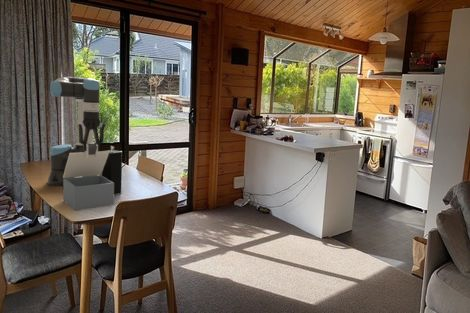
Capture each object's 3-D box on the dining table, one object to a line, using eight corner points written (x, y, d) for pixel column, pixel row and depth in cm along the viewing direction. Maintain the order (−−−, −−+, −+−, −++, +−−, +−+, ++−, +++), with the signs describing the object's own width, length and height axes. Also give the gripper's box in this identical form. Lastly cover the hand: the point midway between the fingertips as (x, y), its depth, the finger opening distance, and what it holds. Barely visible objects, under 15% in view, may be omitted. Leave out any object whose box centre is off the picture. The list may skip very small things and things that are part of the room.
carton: (63, 200, 198) (63, 178, 195) (100, 195, 211) (101, 175, 208) (74, 210, 184) (74, 187, 182) (113, 204, 197) (114, 183, 195)
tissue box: (110, 196, 211) (111, 147, 206) (101, 193, 215) (102, 145, 210) (121, 193, 218) (122, 146, 213) (112, 190, 222) (113, 144, 217)
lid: (63, 179, 195) (62, 175, 196) (101, 176, 208) (100, 172, 209) (72, 148, 181) (70, 144, 182) (112, 146, 194) (110, 142, 195)
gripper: (76, 111, 178) (76, 159, 182) (111, 112, 189) (110, 157, 193) (71, 110, 183) (71, 156, 187) (105, 110, 194) (105, 154, 198)
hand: (91, 156), depth 190 cm, fingers closed on lid, 4 cm apart
